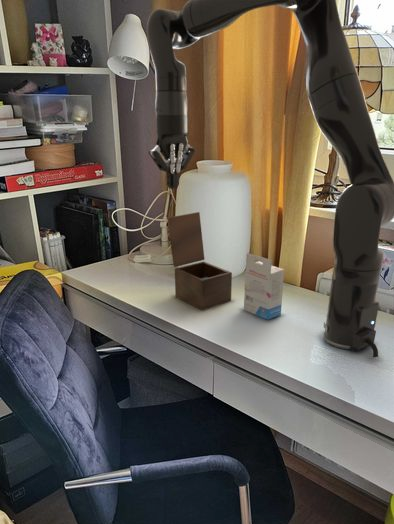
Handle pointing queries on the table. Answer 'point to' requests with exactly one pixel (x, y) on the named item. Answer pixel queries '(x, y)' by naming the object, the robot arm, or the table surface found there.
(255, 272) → the ink box
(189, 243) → the chest lid
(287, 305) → the table surface
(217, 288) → the chest
